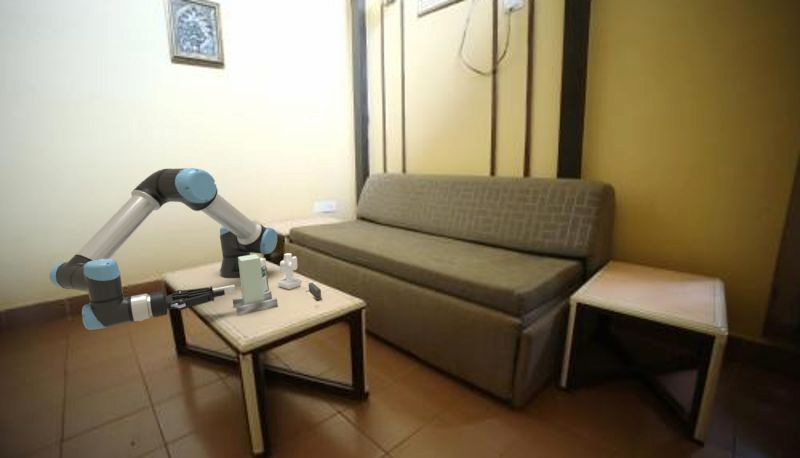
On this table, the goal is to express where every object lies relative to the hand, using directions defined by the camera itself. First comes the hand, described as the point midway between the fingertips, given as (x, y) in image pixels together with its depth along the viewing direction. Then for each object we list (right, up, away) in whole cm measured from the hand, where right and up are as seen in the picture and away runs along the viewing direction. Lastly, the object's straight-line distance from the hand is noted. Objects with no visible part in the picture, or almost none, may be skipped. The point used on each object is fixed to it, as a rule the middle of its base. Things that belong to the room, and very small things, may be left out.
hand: (234, 289), depth 122 cm
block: (+4, -7, +5) cm, 10 cm away
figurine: (+11, -4, +25) cm, 28 cm away
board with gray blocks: (+11, -7, +10) cm, 17 cm away
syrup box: (0, -6, +20) cm, 21 cm away
